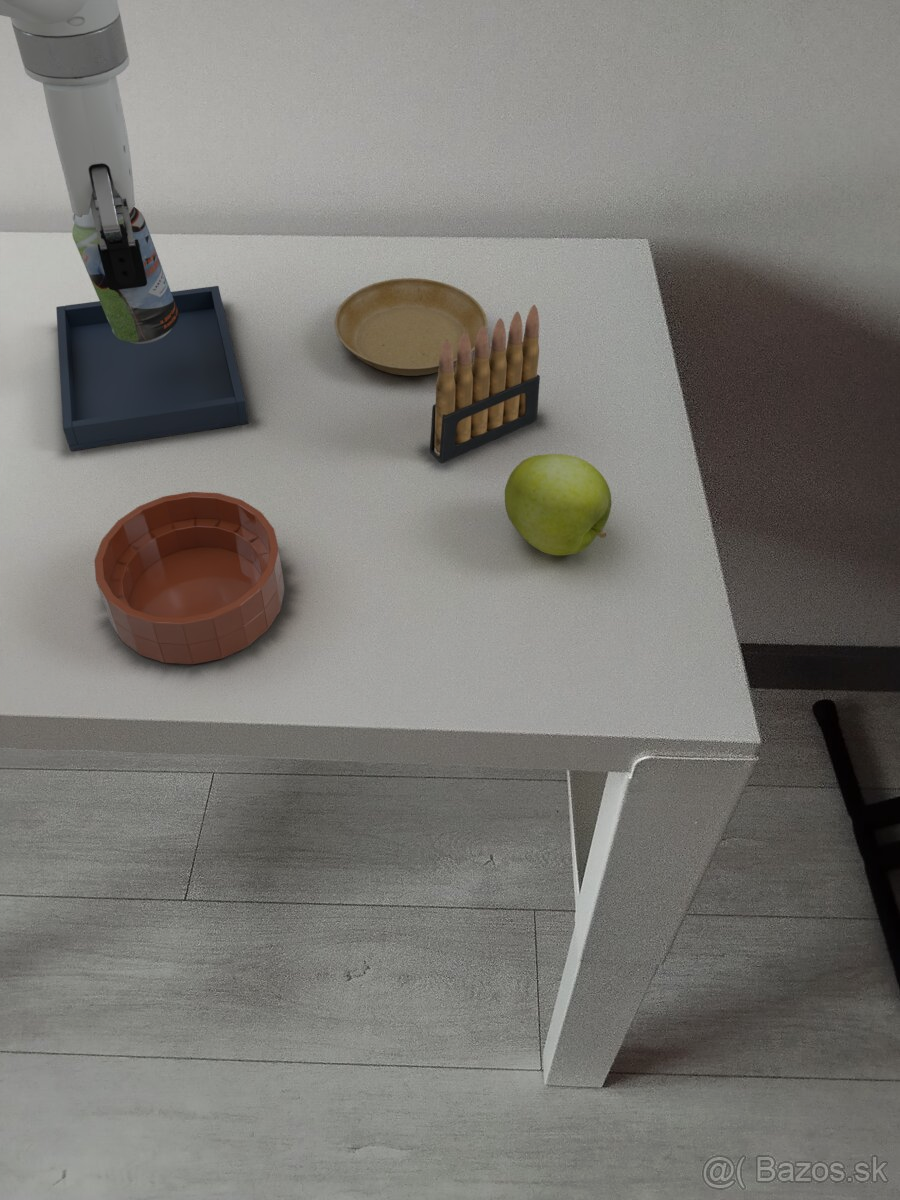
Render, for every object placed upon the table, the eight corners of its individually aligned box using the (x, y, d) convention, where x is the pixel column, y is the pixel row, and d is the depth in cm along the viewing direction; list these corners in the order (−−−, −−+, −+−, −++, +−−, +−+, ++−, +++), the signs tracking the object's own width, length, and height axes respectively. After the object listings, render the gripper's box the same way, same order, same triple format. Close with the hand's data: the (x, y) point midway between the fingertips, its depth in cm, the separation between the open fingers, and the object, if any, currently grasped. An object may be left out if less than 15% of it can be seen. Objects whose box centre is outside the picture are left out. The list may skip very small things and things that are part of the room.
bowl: (116, 682, 75) (100, 639, 71) (105, 553, 83) (90, 508, 79) (297, 646, 78) (291, 603, 74) (269, 524, 86) (262, 479, 82)
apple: (577, 595, 82) (590, 523, 75) (483, 543, 85) (488, 470, 79) (628, 538, 86) (644, 466, 80) (536, 491, 89) (545, 418, 83)
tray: (70, 451, 91) (62, 428, 89) (63, 329, 103) (56, 306, 101) (248, 423, 94) (245, 400, 92) (222, 307, 106) (218, 285, 104)
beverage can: (174, 354, 92) (148, 230, 83) (91, 350, 92) (56, 226, 83) (187, 312, 96) (164, 190, 87) (108, 309, 96) (76, 186, 87)
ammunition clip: (525, 409, 96) (536, 296, 87) (537, 420, 95) (550, 307, 86) (429, 451, 92) (430, 337, 83) (440, 463, 91) (443, 349, 82)
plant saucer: (517, 343, 103) (519, 321, 101) (411, 411, 96) (411, 388, 94) (411, 283, 109) (410, 261, 107) (304, 342, 102) (302, 319, 100)
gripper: (17, 2, 80) (76, 219, 94) (20, 100, 70) (85, 328, 83) (117, -5, 82) (160, 209, 96) (134, 90, 71) (180, 315, 85)
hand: (125, 263), depth 89 cm, fingers closed on beverage can, 6 cm apart
